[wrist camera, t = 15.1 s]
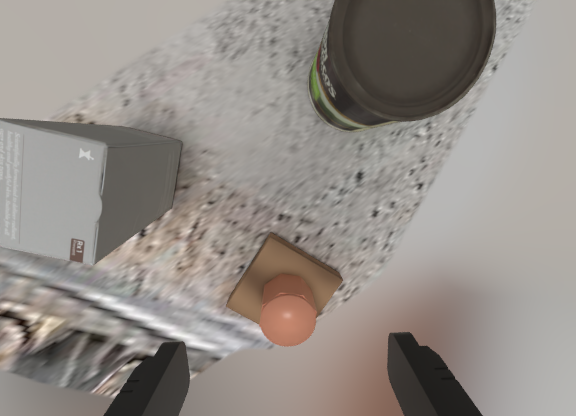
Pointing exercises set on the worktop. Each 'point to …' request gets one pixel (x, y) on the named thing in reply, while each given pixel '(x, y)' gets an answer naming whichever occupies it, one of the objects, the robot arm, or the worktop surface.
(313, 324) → the cap
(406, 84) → the coffee can
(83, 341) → the worktop surface
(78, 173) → the skincare box
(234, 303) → the peg block
